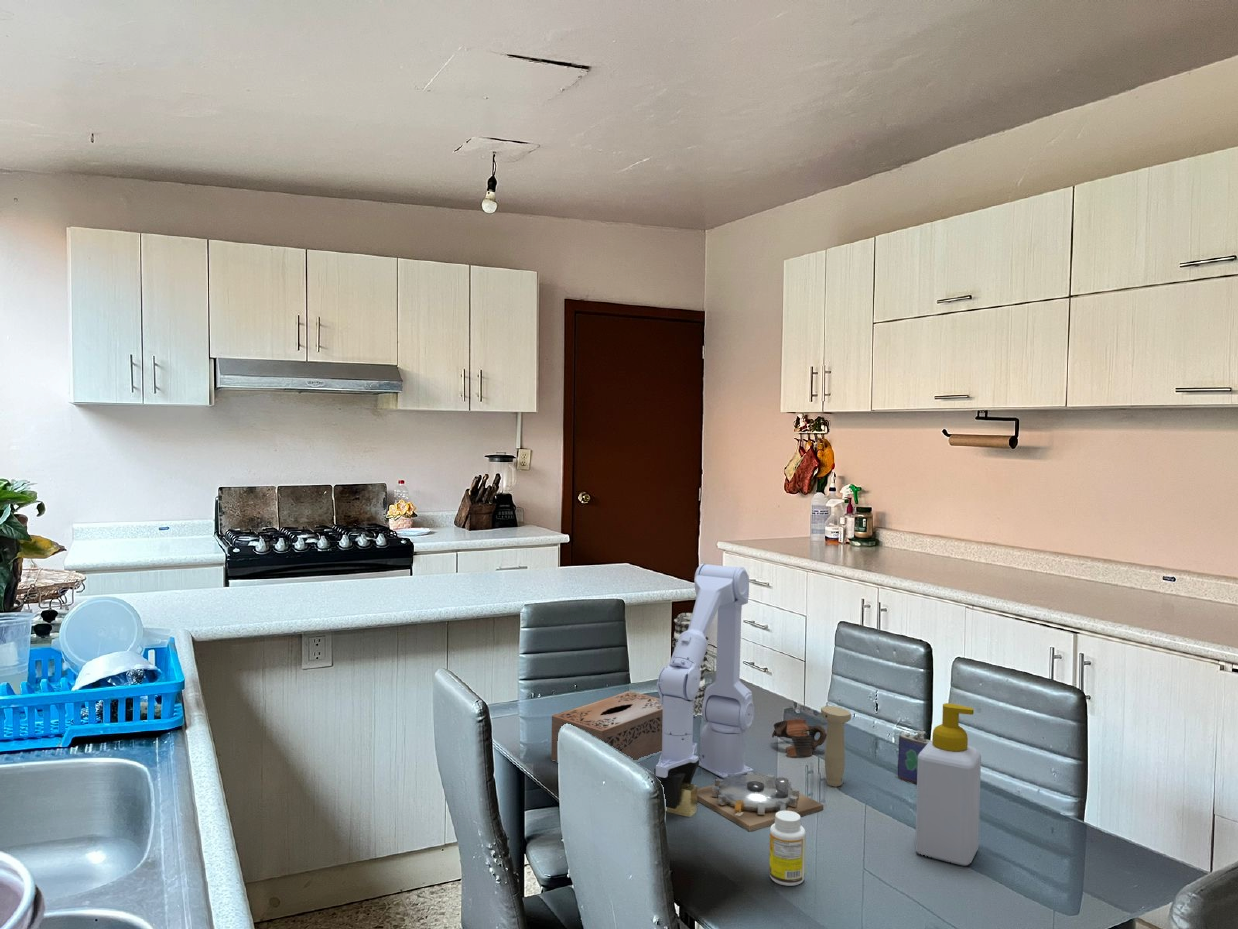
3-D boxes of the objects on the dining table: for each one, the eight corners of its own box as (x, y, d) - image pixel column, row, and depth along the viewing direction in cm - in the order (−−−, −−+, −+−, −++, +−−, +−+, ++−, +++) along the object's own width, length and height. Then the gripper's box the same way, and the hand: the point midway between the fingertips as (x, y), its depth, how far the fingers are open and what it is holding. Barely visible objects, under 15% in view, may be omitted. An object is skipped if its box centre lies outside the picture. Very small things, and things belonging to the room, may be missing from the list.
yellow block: (655, 809, 168) (656, 782, 168) (662, 804, 171) (663, 777, 171) (690, 817, 165) (690, 789, 165) (696, 811, 168) (697, 784, 167)
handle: (834, 792, 178) (836, 717, 177) (814, 780, 183) (816, 707, 183) (854, 788, 180) (855, 714, 179) (833, 776, 185) (835, 705, 185)
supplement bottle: (780, 866, 146) (781, 805, 146) (810, 878, 143) (812, 814, 143) (762, 879, 142) (763, 816, 142) (793, 891, 139) (794, 826, 138)
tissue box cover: (601, 779, 183) (602, 731, 182) (551, 762, 192) (551, 716, 192) (677, 747, 202) (678, 703, 202) (628, 732, 212) (629, 690, 211)
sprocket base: (689, 796, 174) (689, 790, 174) (759, 778, 184) (759, 772, 184) (749, 831, 159) (750, 825, 159) (823, 810, 169) (823, 803, 169)
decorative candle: (708, 719, 222) (710, 618, 221) (671, 718, 222) (672, 618, 221) (705, 707, 231) (707, 611, 230) (669, 707, 231) (671, 610, 230)
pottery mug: (774, 760, 196) (767, 722, 200) (780, 765, 204) (773, 728, 208) (829, 750, 194) (820, 712, 197) (833, 756, 202) (824, 719, 206)
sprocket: (708, 809, 165) (708, 785, 165) (716, 776, 181) (716, 754, 181) (799, 818, 162) (799, 794, 162) (799, 783, 178) (799, 761, 178)
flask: (944, 786, 181) (945, 734, 181) (939, 790, 179) (940, 737, 179) (900, 774, 187) (901, 724, 187) (894, 779, 185) (895, 727, 185)
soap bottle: (969, 869, 146) (973, 717, 146) (913, 855, 151) (917, 707, 150) (979, 848, 154) (984, 703, 153) (926, 835, 159) (929, 694, 158)
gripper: (681, 746, 159) (680, 821, 160) (712, 723, 172) (710, 793, 172) (645, 739, 162) (644, 813, 163) (678, 717, 175) (677, 786, 176)
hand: (676, 802), depth 168 cm, fingers open, 4 cm apart
